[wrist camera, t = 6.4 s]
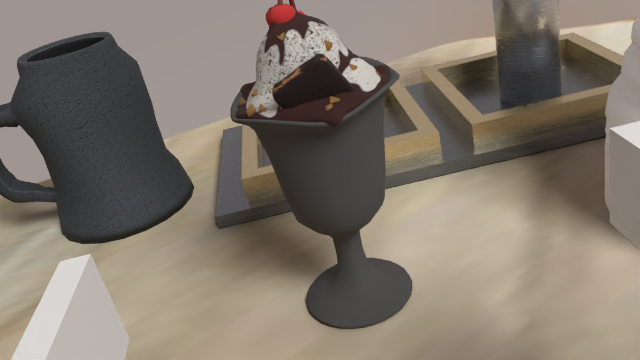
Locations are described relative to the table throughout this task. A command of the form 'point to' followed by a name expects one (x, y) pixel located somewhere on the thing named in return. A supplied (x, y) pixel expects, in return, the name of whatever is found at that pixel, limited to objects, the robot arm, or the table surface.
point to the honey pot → (623, 98)
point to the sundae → (327, 156)
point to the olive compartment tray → (460, 111)
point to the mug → (93, 140)
